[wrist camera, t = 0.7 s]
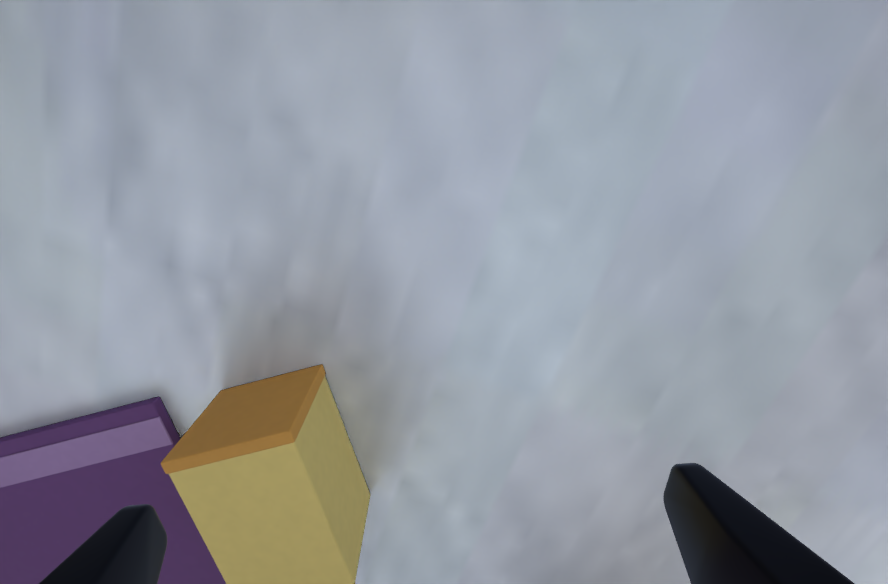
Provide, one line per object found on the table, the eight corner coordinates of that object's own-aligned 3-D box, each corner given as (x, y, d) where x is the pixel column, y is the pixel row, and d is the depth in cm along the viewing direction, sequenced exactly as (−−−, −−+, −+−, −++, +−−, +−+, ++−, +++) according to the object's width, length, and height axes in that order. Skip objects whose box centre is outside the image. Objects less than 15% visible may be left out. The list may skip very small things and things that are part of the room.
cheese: (371, 493, 24) (356, 587, 19) (278, 515, 24) (238, 613, 19) (322, 363, 21) (289, 430, 17) (220, 389, 22) (159, 463, 17)
